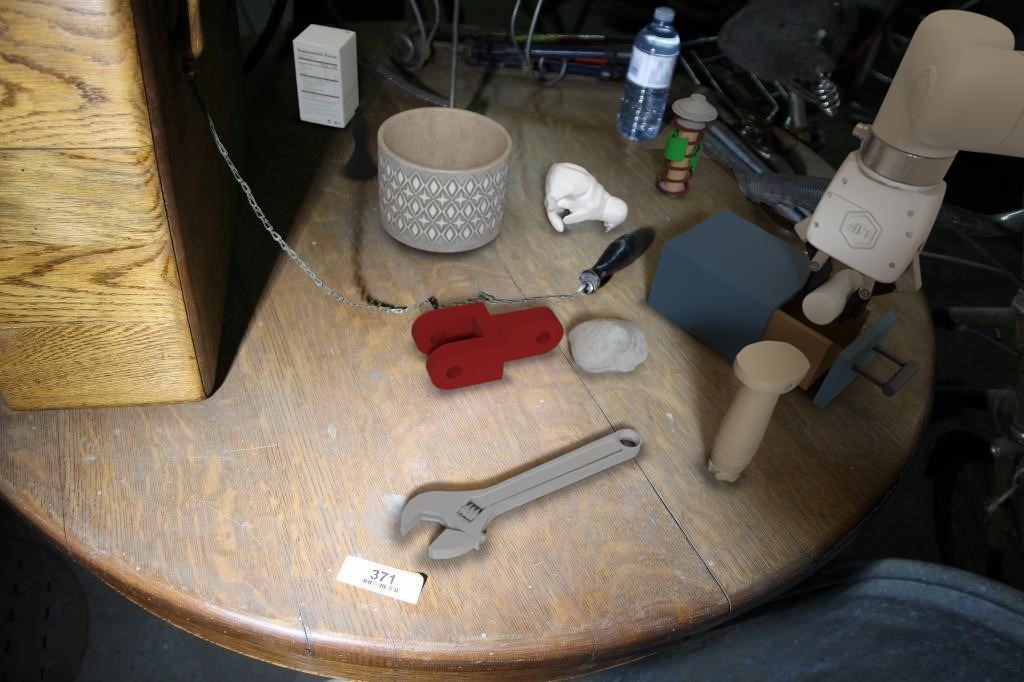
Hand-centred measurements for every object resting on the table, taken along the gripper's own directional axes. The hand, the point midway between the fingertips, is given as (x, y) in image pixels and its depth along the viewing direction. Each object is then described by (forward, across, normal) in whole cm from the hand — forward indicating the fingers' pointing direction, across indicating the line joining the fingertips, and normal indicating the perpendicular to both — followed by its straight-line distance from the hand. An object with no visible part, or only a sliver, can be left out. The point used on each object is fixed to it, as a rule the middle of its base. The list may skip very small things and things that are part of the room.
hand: (829, 307), depth 81 cm
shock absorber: (+9, -33, +18) cm, 38 cm away
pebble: (+9, -15, -18) cm, 25 cm away
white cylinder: (0, 0, 0) cm, 0 cm away
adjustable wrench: (+9, -6, -38) cm, 39 cm away
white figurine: (+9, -35, 0) cm, 36 cm away
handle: (+9, +3, -21) cm, 23 cm away
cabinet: (+9, -11, 0) cm, 14 cm away
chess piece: (+9, -63, -17) cm, 66 cm away
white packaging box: (+9, -80, -11) cm, 81 cm away
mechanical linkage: (+9, -23, -28) cm, 37 cm away
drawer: (+8, +1, 0) cm, 8 cm away
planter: (+9, -46, -16) cm, 49 cm away
